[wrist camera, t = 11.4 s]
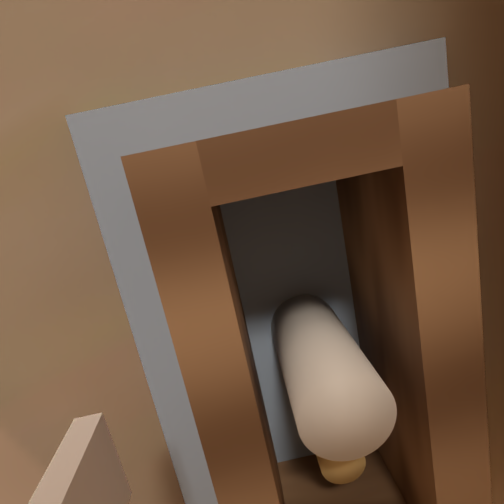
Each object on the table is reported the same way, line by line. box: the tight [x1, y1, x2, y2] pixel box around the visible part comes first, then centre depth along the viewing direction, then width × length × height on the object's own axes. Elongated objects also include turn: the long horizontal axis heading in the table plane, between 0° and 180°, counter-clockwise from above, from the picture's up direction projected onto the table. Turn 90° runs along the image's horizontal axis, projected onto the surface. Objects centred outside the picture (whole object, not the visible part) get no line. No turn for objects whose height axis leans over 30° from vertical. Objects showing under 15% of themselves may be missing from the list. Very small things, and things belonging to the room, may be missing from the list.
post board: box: [65, 37, 449, 504], centre depth 14 cm, size 20×14×7 cm
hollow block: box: [121, 84, 492, 504], centre depth 14 cm, size 16×8×6 cm, turn 12°
